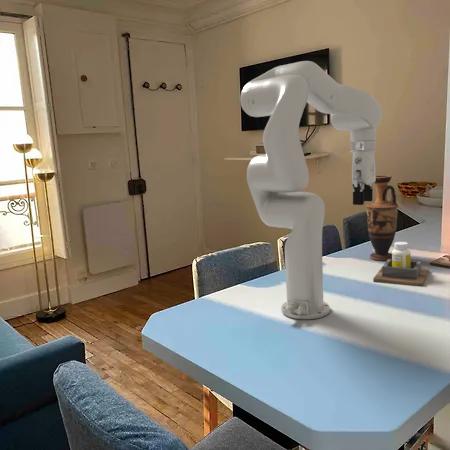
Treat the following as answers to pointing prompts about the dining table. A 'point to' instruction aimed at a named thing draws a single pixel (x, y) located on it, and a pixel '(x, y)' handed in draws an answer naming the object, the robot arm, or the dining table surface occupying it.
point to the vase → (382, 219)
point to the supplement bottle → (401, 255)
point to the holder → (402, 274)
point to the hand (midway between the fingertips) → (362, 202)
